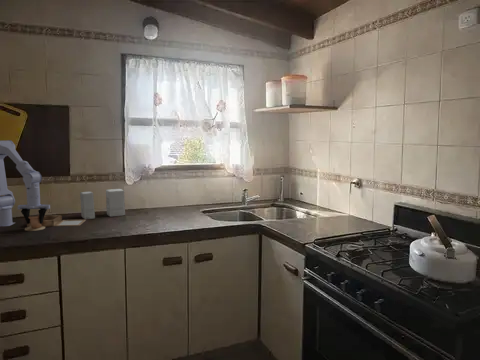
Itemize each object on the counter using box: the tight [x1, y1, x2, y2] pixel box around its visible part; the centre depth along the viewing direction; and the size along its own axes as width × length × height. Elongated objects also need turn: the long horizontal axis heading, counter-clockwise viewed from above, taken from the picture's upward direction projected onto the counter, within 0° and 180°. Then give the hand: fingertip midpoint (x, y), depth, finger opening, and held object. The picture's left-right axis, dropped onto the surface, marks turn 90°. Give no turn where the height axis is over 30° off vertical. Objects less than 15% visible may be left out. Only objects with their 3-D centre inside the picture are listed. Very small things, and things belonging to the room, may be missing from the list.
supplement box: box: [105, 188, 126, 217], centre depth 232 cm, size 9×9×15 cm
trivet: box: [24, 226, 46, 232], centre depth 195 cm, size 9×9×1 cm
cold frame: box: [26, 214, 63, 228], centre depth 205 cm, size 13×13×4 cm
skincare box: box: [79, 191, 96, 220], centre depth 222 cm, size 8×6×15 cm
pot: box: [28, 213, 42, 228], centre depth 195 cm, size 6×6×6 cm
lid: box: [54, 219, 87, 227], centre depth 207 cm, size 12×13×1 cm
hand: (34, 223), depth 194 cm, fingers closed on pot, 5 cm apart
